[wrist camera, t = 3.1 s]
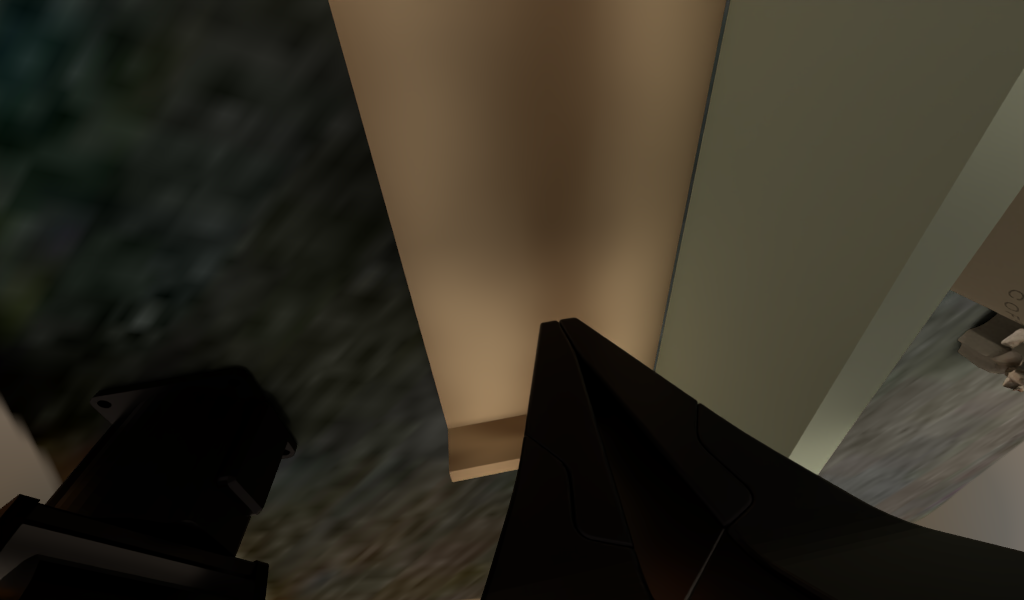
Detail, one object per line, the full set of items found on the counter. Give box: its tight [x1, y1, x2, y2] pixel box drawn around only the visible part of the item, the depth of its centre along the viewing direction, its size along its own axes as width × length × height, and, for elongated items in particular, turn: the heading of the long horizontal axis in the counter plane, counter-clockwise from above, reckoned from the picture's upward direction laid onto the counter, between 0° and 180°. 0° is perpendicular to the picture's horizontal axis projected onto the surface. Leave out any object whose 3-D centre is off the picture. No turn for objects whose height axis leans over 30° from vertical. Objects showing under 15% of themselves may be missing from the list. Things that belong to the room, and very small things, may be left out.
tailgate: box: [655, 0, 1024, 475], centre depth 10 cm, size 2×18×7 cm, turn 5°
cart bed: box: [328, 0, 726, 482], centre depth 13 cm, size 10×20×5 cm, turn 5°
